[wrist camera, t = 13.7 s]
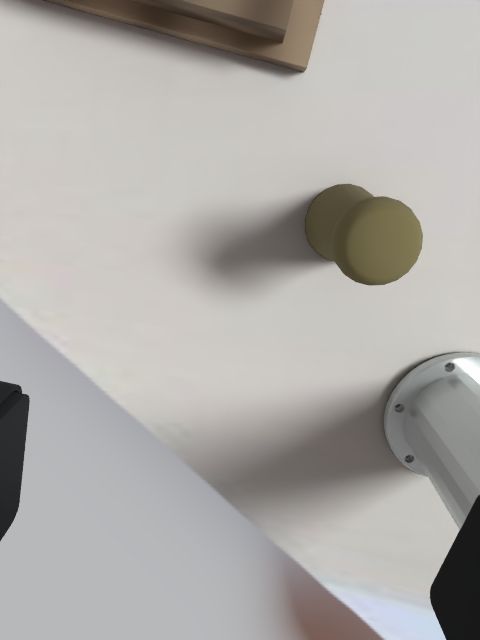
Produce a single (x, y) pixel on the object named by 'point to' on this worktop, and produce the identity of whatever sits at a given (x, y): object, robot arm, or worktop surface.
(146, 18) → the brown rectangular recessed tray
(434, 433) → the robot arm
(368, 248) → the cork
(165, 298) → the worktop surface
